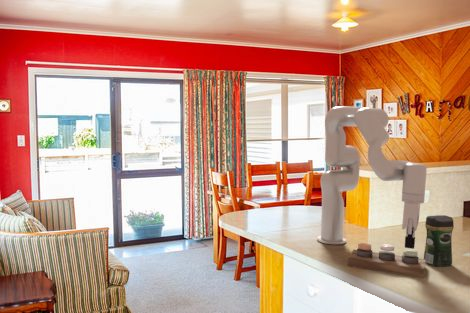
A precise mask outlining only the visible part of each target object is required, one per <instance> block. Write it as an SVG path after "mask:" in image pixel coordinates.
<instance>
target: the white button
mask: <svg viewBox="0 0 470 313" xmlns="http://www.w3.org/2000/svg"><path fill="white" fill-rule="evenodd" d="M379 248H380V250H381V251H388V252H393V251H395V246H394V244H393V245H392V244H388V243H382V244H380V247H379Z"/></svg>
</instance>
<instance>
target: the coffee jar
mask: <svg viewBox="0 0 470 313" xmlns="http://www.w3.org/2000/svg"><path fill="white" fill-rule="evenodd" d="M454 224H455V223H454V219H453V217H452V216H449V215H445V214H443V215H441V214H440V215H439V214H438V215H437V214H436V215H427V216H426V218H425V224H424V225H425V228H426V239H425V246H424V253H423V259H425V264H426V265H429V266H433V267H446V266H452V264H453V252H452V251H453V250H452V248H453V246H452V234H453V231H454V228H455V227H454Z"/></svg>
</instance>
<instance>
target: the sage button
mask: <svg viewBox="0 0 470 313" xmlns="http://www.w3.org/2000/svg"><path fill="white" fill-rule="evenodd" d="M402 255H406V256H412V257H415V256H418V255H419V253H418V251H417V250H415V249H411V248H405V249H403V252H402ZM418 257H419V256H418Z"/></svg>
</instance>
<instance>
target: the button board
mask: <svg viewBox="0 0 470 313" xmlns="http://www.w3.org/2000/svg"><path fill="white" fill-rule="evenodd" d="M347 267H353V268H360V269H366V270H372V271H377V272H386V273H390V274H391V273H392V274H399V275H404V276H405V275H406V276H412V277H416V278H417V277H418V278H425V270H426V263H425V259H424V258H419V256H415V257H412V256H406V255H404V254H402V255H396V254H395V253H394V252H393V251H385V250H381V251H379V252H375V251H373V250H372V249H371V250H361V249H359V248H358V247H357V249H352V251H351V253H350V254H349V256H348V257H347Z"/></svg>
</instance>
